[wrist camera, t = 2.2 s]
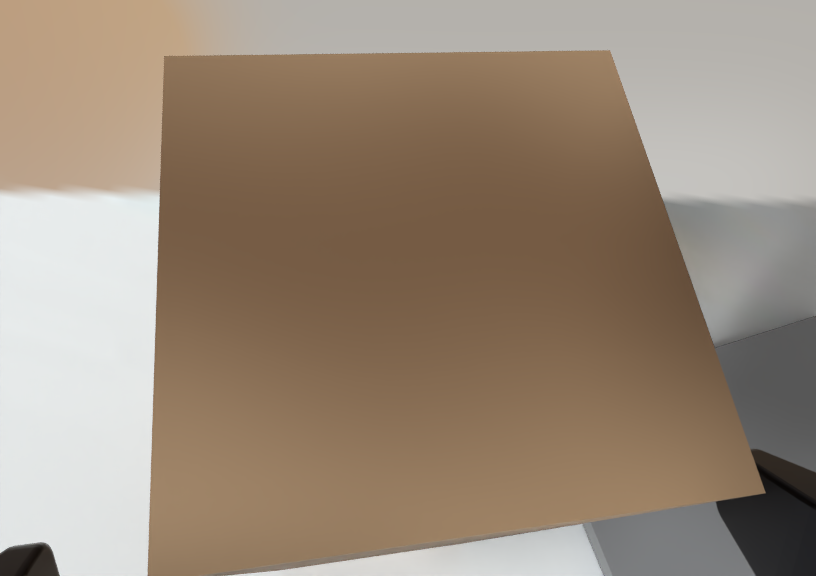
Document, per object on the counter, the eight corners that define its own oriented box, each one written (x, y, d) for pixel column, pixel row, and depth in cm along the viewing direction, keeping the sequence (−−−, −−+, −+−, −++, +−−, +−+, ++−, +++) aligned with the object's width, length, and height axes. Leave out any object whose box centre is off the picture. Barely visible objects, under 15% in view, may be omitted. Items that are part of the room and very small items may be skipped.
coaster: (1030, 665, 17) (1053, 668, 17) (710, 837, 15) (724, 847, 14) (816, 318, 21) (829, 311, 21) (535, 407, 19) (541, 402, 18)
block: (463, 543, 17) (766, 493, 5) (279, 570, 16) (147, 582, 4) (435, 370, 19) (610, 51, 7) (271, 386, 18) (164, 56, 6)
